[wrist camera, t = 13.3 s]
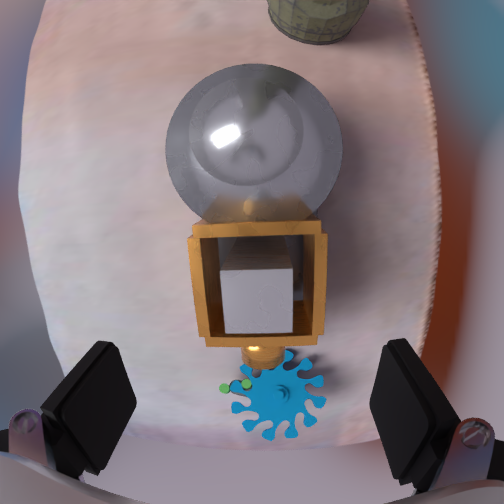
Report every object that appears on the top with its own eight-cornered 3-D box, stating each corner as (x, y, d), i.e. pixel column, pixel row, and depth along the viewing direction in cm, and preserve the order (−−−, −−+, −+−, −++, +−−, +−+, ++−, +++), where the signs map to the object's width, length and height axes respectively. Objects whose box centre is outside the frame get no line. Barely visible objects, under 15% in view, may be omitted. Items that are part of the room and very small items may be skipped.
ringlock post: (195, 103, 24) (128, 43, 10) (315, 97, 23) (358, 25, 9) (211, 323, 29) (174, 422, 15) (318, 320, 28) (348, 421, 15)
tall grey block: (238, 235, 25) (219, 270, 16) (283, 233, 25) (292, 268, 16) (240, 277, 26) (225, 333, 17) (284, 276, 26) (292, 332, 16)
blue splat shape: (335, 356, 27) (316, 448, 23) (324, 365, 33) (307, 441, 28) (232, 337, 29) (207, 426, 24) (237, 348, 34) (216, 423, 29)
